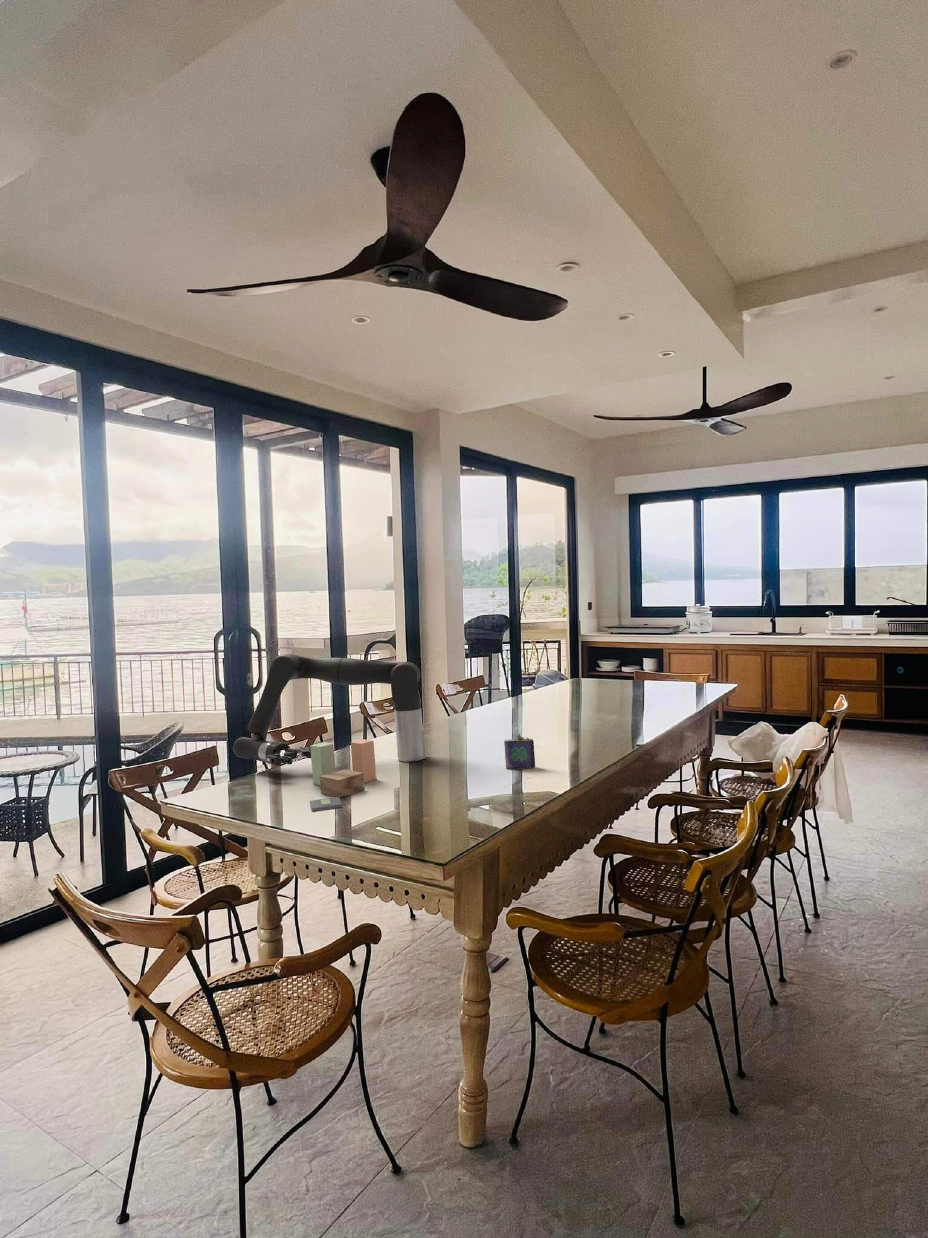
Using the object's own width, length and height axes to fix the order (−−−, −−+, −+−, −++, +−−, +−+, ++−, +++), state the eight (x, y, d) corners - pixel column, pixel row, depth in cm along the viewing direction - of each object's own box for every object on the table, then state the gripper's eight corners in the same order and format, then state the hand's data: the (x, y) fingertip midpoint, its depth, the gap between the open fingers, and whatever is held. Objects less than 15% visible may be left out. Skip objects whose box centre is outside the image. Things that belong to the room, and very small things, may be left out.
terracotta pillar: (366, 777, 224) (363, 739, 224) (376, 779, 221) (373, 740, 221) (353, 780, 221) (350, 742, 220) (363, 783, 217) (360, 743, 217)
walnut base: (345, 785, 215) (344, 769, 215) (364, 789, 209) (363, 772, 209) (320, 793, 209) (319, 776, 209) (339, 797, 203) (338, 780, 202)
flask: (505, 769, 222) (503, 735, 222) (506, 767, 225) (504, 733, 224) (535, 769, 220) (533, 734, 220) (535, 766, 223) (533, 732, 223)
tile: (338, 799, 201) (338, 796, 201) (342, 807, 193) (341, 803, 193) (309, 803, 199) (309, 800, 198) (312, 811, 191) (311, 807, 191)
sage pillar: (326, 780, 224) (323, 742, 223) (336, 782, 220) (333, 743, 220) (313, 784, 220) (310, 745, 220) (322, 786, 217) (320, 747, 216)
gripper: (254, 746, 233) (282, 751, 222) (291, 737, 244) (320, 742, 233) (256, 769, 233) (284, 775, 222) (293, 759, 244) (322, 764, 233)
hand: (302, 758), depth 227 cm, fingers open, 8 cm apart
